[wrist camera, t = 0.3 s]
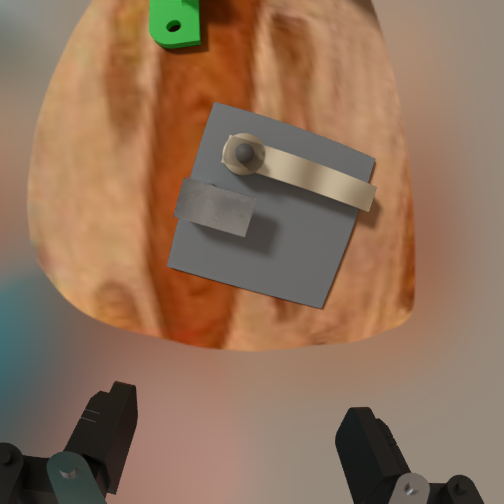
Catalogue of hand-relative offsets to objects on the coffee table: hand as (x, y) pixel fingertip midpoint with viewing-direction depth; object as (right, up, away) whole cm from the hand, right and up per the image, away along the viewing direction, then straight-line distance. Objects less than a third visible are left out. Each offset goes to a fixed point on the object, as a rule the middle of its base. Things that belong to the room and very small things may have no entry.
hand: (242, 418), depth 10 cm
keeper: (-4, +12, +25) cm, 28 cm away
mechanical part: (-9, +36, +19) cm, 42 cm away
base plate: (+3, +11, +26) cm, 29 cm away
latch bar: (+6, +15, +24) cm, 29 cm away
